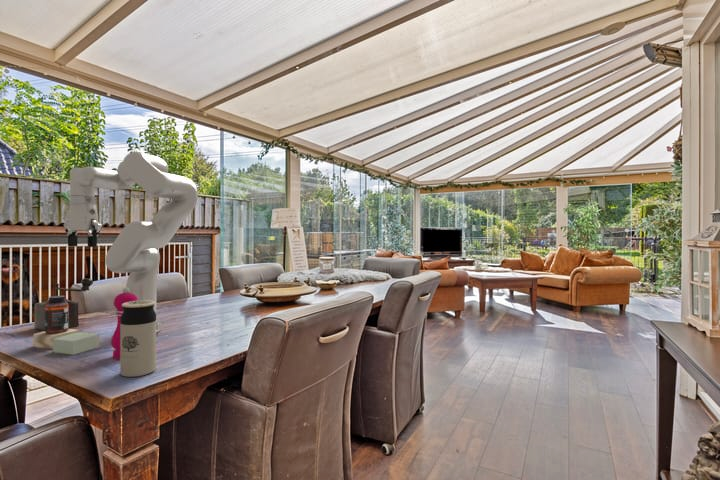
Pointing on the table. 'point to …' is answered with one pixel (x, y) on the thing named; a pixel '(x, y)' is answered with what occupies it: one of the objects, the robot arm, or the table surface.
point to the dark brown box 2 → (73, 305)
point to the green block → (75, 343)
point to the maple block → (49, 338)
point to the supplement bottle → (56, 315)
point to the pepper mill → (118, 304)
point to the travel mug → (138, 338)
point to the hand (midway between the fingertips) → (82, 246)
